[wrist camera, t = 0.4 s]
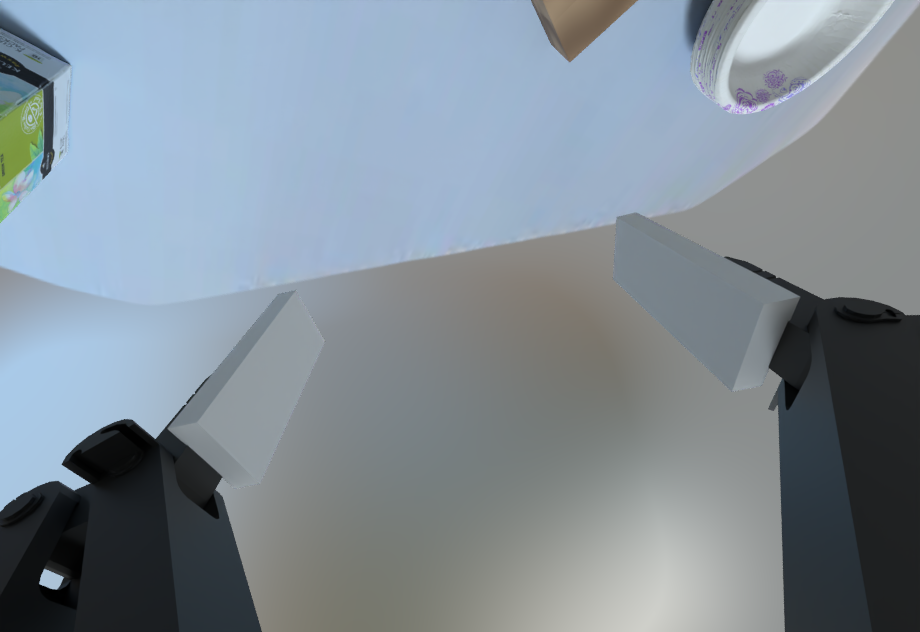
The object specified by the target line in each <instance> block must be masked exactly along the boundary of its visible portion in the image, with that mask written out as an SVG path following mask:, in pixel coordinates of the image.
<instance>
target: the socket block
mask: <svg viewBox="0 0 920 632" xmlns="http://www.w3.org/2000/svg"><path fill="white" fill-rule="evenodd" d="M636 1H638V0H531V2H532V4H533V6H534V8H535V10H536V12H537V15H538V17H539V19H540V21H541V23H542V26H543V28H544V30H545V32H546V34H547V36H548V39H549V41H550V43H551V45H552V46H553V47H554V48H555V49H556V50H557V51H558V52H559V53H560V54H561V55H562V56H564V57H565V58H566V59H567V60H568V61H569V62H571V61H572V60H573V59H574V58H575V57H576V56H577V55H578V54H580V53H581V52H582V51H583V50H584V49H585V48H586V47H587V46H588V45H589V44H591V43H592V42H593V41H594V40H595V39H596V38H597V37H598V36H599V35H600V34H601V33H603V32H604V31H605V30H606V29H607V28H608V27H609V26H610V25H611V24H612V23H613V22H615V21H616V20H617V19H618V18H619V17H620V16H621V15H622V14H623V13H624V12H625V11H627V10H628V9H629V8H630V7H631V6H632V5H633V4H634V3H635V2H636Z"/></svg>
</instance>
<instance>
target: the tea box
mask: <svg viewBox="0 0 920 632" xmlns="http://www.w3.org/2000/svg"><path fill="white" fill-rule="evenodd" d="M71 69H72V66H71V65H69V64H67V63H65V62H63V61H61V60H59V59H57V58H55V57H53V56H51V55H49V54H48V53H46V52H44V51H42V50H41V49H39V48H37V47H36V46H34V45H32V44H30V43H28V42H26V41H24V40H22V39H20V38H19V37H17V36H15V35H13V34H11V33H9V32H7V31H5V30H3V29H1V28H0V223H1V222H2V221H3V220H4V219H5V218H6V217H7V216H8V215H9V214H10V213H11V212H12V211H13V210H14V209H15V208H16V207H17V206H18V204H19V203H20V202H21V201H22V200H23V199H24V198H25V197H26V196H27V195H28V194H29V193H30V192H31V191H32V190H33V189H34V188H35V187H36V186H37V185H38V184H39V183H40V182H41V181H42V180H43V179H44V178H45V176H47V175H48V173H49V172H50V171H51V170H52V169H53V168H54V167H55V166H56V165H57V164H58V163H59V162H60V161H61V160H62V159H63V158H64V157H65V156H66V155H67V153H68V122H69V104H70V87H71Z"/></svg>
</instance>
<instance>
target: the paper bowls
mask: <svg viewBox="0 0 920 632" xmlns="http://www.w3.org/2000/svg"><path fill="white" fill-rule="evenodd" d="M893 2H894V0H713V1H712V3H711V5H710V7H709V9H708V11H707V13H706V15H705V17H704V19H703V21H702V24H701V26H700V28H699V31H698V34H697V36H696V40H695V43H694V47H693V51H692V56H691V68H690V72H691V75H692V80H693V82H694V84H695V86H697V88H698V89H699V90H700V91H701V92H702V93H703V94H704V95H705V96H707V97H708V98H709V99H711V100H712V101H714V102H715V103H716V104H717V105H718V106H720V107H721V108H723V109H724V110H726V111H727V112H730V113H734V114H751V113H754V112H759V111H762V110H766V109H768V108H771V107H773V106H775V105H778V104H779V103H782V102H784V101H785V100H787V99H789V98H791V97H793V96H794V95H796V94H797V93H799V92H801V91H802V90H804V89H805V88H807V87H808V86H809V85H811V84H812V83H814V82H815V81H816V80H818V79H819V78H820V77H822V76H823V75H824V74H825V73H827V72H828V71H829V70H830V69H832V68H833V67H834V66H835V65H836V64H837V63H838V62H840V61H841V60H842V59H843V58H844V57H845V56H846V55H847V54H848V53H849V52H850V51H851V50H852V49H853V48H854V47H855V46H856V45H857V44H858V43H859V42H860V41H861V40H862V39H863V38H864V37H865V36H866V35H867V34H868V33H869V31H870V30H871V29H872V28H873V27H874V26H875V25H876V23H877V22H878V21H879V20H880V19H881V17H882V16H883V15H884V14H885V12H886V11H887V10H888V9H889V7H890V6H891V4H892V3H893Z"/></svg>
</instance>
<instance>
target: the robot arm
mask: <svg viewBox="0 0 920 632" xmlns="http://www.w3.org/2000/svg"><path fill="white" fill-rule="evenodd" d="M613 279H614V281H616V283H618V284H619V285H620V286H621V287H622V288H623V289H624V290H625V291H626V292H627V293H628V294H629V295H630V296H631V297H632V298H633V299H634V300H635V301H637V302H638V303H639V304H640V305H641V306H642V307H643V308H644V309H645V310H646V311H647V312H648V313H649V314H650V315H651V316H652V317H653V318H654V319H656V320H657V321H658V322H659V323H660V324H661V325H662V326H663V327H664V328H665V329H666V330H667V331H668V332H669V333H670V334H671V335H672V336H673V337H675V338H676V339H677V340H678V341H679V342H680V343H681V344H682V345H683V346H684V347H685V348H686V349H687V350H688V351H689V352H690V353H692V355H694V356H695V357H696V358H697V359H698V360H699V361H700V362H701V363H702V364H703V365H704V366H705V367H706V368H707V369H708V370H709V371H710V372H711V373H712V374H714V375H715V376H716V377H717V378H718V379H719V380H720V381H721V382H722V383H723V384H724V385H725V386H726V387H727V388H728V389H729V390H730V391H731V392H734V391H739V390H743V389H749V388H754V387H759V386H762V384H763V382H764V379H765V377H766V375H767V373H768V370H769V368H770V369H771V370H772V371H774V372H775V373H776V374H778V375H779V376H780V377H782V381H781V382H780V385H779V387H778V389H777V391H776V393H775V395H774V397H773V400H772V402H771V404H770V406H769V408H768V409H769V410H773V411H774V409H775V407H776V406H777V405H778V412H779V413H778V414H779V446H780V447H779V448H780V480H781V481H780V482H781V515H782V547H783V581H784V615H785V632H920V315H905V314H904V313H903V312H901V311H899V310H897V309H895V308H893V307H891V306H888V305H885V304H882V303H878V302H875V301H870V300H865V299H859V298H844V297H838V298H831V299H825V300H824V299H822V298H820V297H818V296H815V295H814V294H811V293H809V292H807V291H805V290H803V289H801V288H799V287H797V286H795V285H793V284H791V283H789V282H787V281H785V280H783V279H781V278H776V276H775V275H773V274H771V273H769V272H767V271H762V269H760V268H758V267H756V266H754V265H752V264H750V263H748V262H746V261H742V260H738V259H734V258H730V257H722V256H720V255H718V254H716V253H714V252H712V251H710V250H709V249H706V248H705V247H703V246H701V245H699V244H697V243H695V242H693V241H691V240H689V239H687V238H685V237H683V236H681V235H679V234H677V233H675V232H673V231H672V230H670V229H668V228H666V227H664V226H662V225H660V224H658V223H656V222H654V221H652V220H650V219H648V218H646V217H644V216H642V215H640V214H638V213H632V214H628V215H623V216H619V217H617V220H616V237H615V254H614V272H613ZM324 343H325V341H324V339H323V337H322V336H321V334H320V332H319V330H318V328H317V326H316V325H315V323H314V321H313V320H312V318H311V316H310V314H309V312H308V311H307V309H306V307H305V305H304V303H303V302H302V300H301V298H300V296H299V295H298V293H297V291H296V290H294V291H290V292H285V293H281V294H278V295H277V296H276V298H275V299H274V300H273V301H272V302H271V304H270V305H269V306H268V308H267V309H266V310H265V311H264V312H263V313H262V314H261V316H260V317H259V318H258V319H257V321H256V322H255V323H254V324H253V325H252V327H251V328H250V329H249V330H248V331H247V333H246V334H245V335H244V336H243V338H242V339H241V340H240V341H239V342H238V344H237V345H236V346H235V347H234V348H233V350H232V351H231V352H230V353H229V354H228V356H227V357H226V358H225V359H224V360H223V362H222V363H221V364H220V365H219V367H218V368H217V369H216V370H215V372H214V373H213V374H212V375H210V376H209V377H208V378H207V379H206V380H205V381H204V382H203V383H202V384H201V385H200V387H199V388H198V389H197V390H196V391H195V394H193V395H192V396H191V397H190V399H189V400H188V401H187V402H186V403H187V405H184V406H183V407H182V408H181V409H180V411H179V412H178V413H177V414H176V415H175V417H174V418H173V419H172V420H171V421H170V423H169V424H168V425H167V426H166V427H165V429H164V430H163V431H162V432H161V433H160V435H159V436H158V437H157V438H156V439H154V438H153V437H152V436H151V435H150V434H148V433H147V432H146V431H145V430H144V429H142V428H141V427H140V426H139V425H138V424H137V423H135V422H134V421H133V420H129V419H124V420H121V421H117V422H114V423H112V424H110V425H108V426H106V427H103V428H101V429H100V430H98V431H96V432H95V433H93V434H92V435H90V436H88V437H87V438H86V439H84V440H83V441H82V442H81V443H79V444H78V445H77V446H76V447H75V448H74V449H73V450H72V451H71V452H70V453H69V454H68V455H67V456H66V458H65V459H64V461H63V463H62V465H63V466H65V467H66V468H68V469H69V470H71V471H72V472H74V473H75V474H77V475H79V476H80V477H82V478H83V479H85V480H86V481H88V482H89V483H90V484H88V485H86V486H84V487H81V488H79V489H77V490H75V491H74V490H72V489H71V488H69V487H67V486H66V485H64V484H62V483H60V482H59V481H53V482H48V483H45V484H43V485H40V486H37V487H36V488H34V489H32V490H30V491H28V492H26V493H23V494H22V495H20V496H19V497H17V498H16V500H13V501H11V502H10V503H9V504H8V505H6V506H5V507H4V509H3V510H2V511H1V512H0V632H262V631H261V627H260V624H259V620H258V617H257V614H256V610H255V607H254V603H253V600H252V596H251V593H250V590H249V586H248V582H247V580H246V576H245V572H244V569H243V565H242V562H241V559H240V555H239V552H238V548H237V545H236V541H235V538H234V534H233V531H232V527H231V524H230V521H229V517H228V514H227V511H226V507H225V503H224V500H223V497H222V496H221V495H220V493H218V492H217V491H216V490H215V489H216V487H217V485H218V484H219V482H220V480H221V478H223V479H225V481H227V483H229V484H230V485H231V486H232V487H233V488H234V489H237V488H243V487H248V486H253V485H258V484H260V483H261V481H262V479H263V477H264V474H265V472H266V470H267V468H268V466H269V463H270V461H271V459H272V457H273V455H274V453H275V450H276V448H277V446H278V444H279V442H280V439H281V437H282V434H283V433H284V430H285V429H286V426H287V424H288V422H289V420H290V418H291V415H292V413H293V411H294V409H295V407H296V404H297V402H298V400H299V398H300V396H301V394H302V391H303V389H304V387H305V385H306V383H307V380H308V378H309V376H310V374H311V372H312V370H313V367H314V365H315V363H316V361H317V359H318V356H319V354H320V352H321V350H322V348H323V345H324ZM44 569H47V570H49V571H51V572H54V573H56V574H58V575H61V576H63V577H64V579H63V581H62V583H61V585H60V587H59V588H58V590H55V589H50V588H47V587H45V586H42V585H40V584H39V581H40V577H41V574H42V572H43V570H44Z"/></svg>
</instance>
